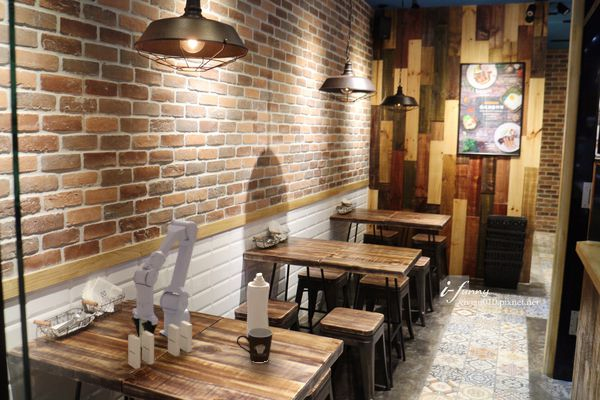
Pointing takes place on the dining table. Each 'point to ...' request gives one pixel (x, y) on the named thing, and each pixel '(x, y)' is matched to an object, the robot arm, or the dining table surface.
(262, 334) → the coffee mug
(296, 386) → the dining table surface
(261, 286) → the spray can
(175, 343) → the domino
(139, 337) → the domino
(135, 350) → the domino
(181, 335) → the domino
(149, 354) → the domino
